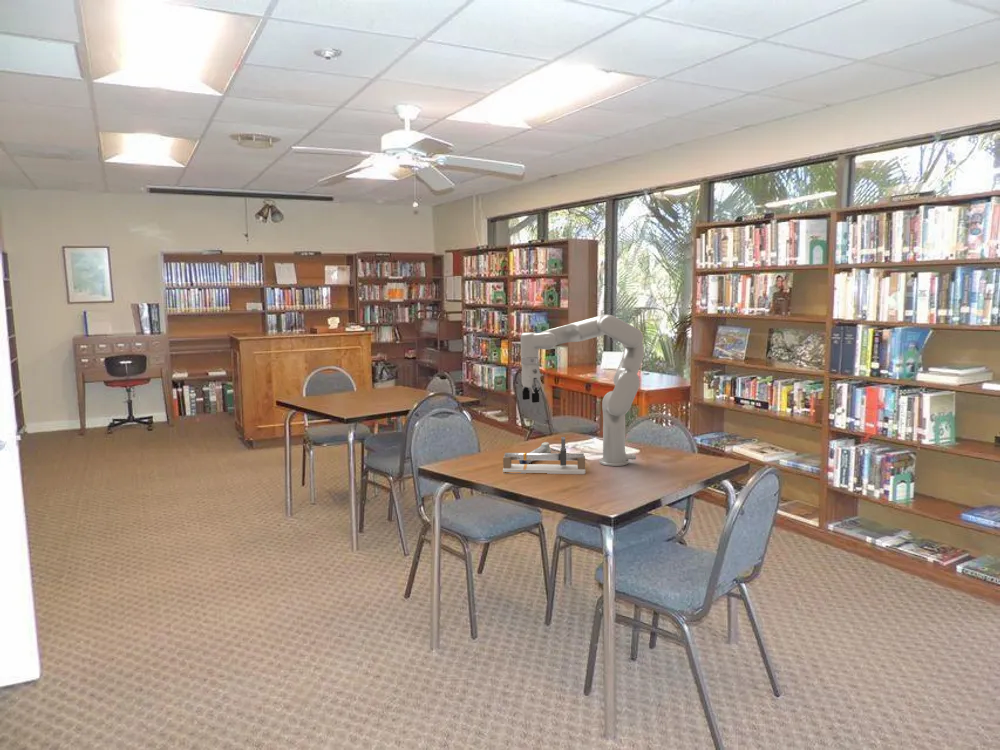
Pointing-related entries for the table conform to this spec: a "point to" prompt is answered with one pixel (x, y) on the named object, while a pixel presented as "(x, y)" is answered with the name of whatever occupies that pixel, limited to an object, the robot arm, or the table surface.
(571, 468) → the pipe base
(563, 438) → the collar
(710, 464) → the table surface
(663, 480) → the table surface
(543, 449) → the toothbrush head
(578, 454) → the pipe
